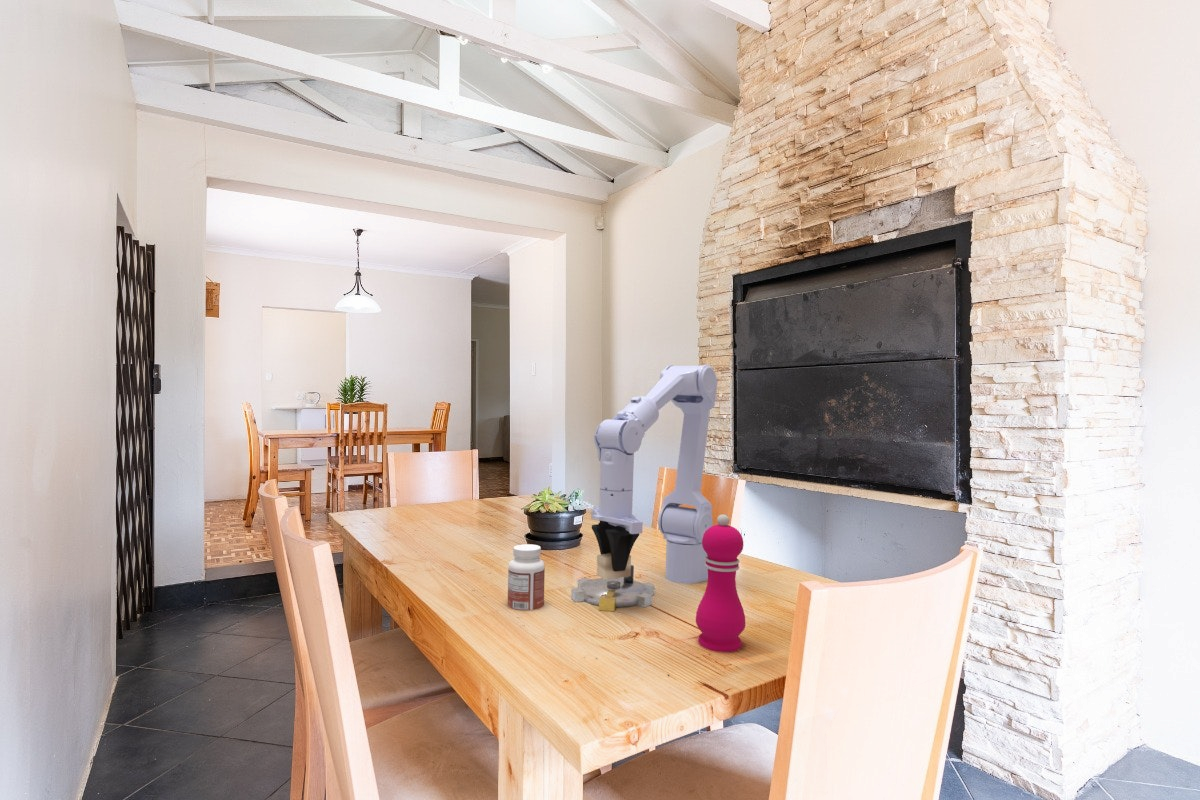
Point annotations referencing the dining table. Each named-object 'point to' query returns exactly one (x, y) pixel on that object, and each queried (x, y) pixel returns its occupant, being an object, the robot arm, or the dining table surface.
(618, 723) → the dining table surface
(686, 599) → the dining table surface
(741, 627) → the pepper mill
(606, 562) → the banded wooden block
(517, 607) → the pill bottle
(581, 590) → the sprocket
